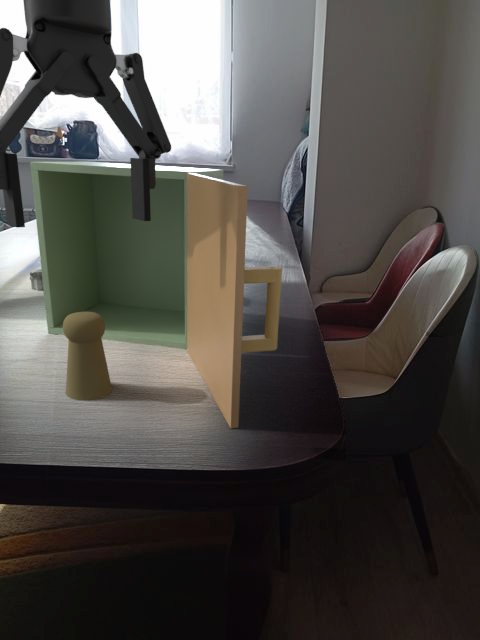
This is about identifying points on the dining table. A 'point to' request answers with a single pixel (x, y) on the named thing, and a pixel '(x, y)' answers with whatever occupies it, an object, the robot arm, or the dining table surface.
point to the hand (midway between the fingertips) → (83, 222)
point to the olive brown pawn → (86, 357)
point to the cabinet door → (223, 288)
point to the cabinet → (114, 249)
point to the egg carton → (36, 279)
